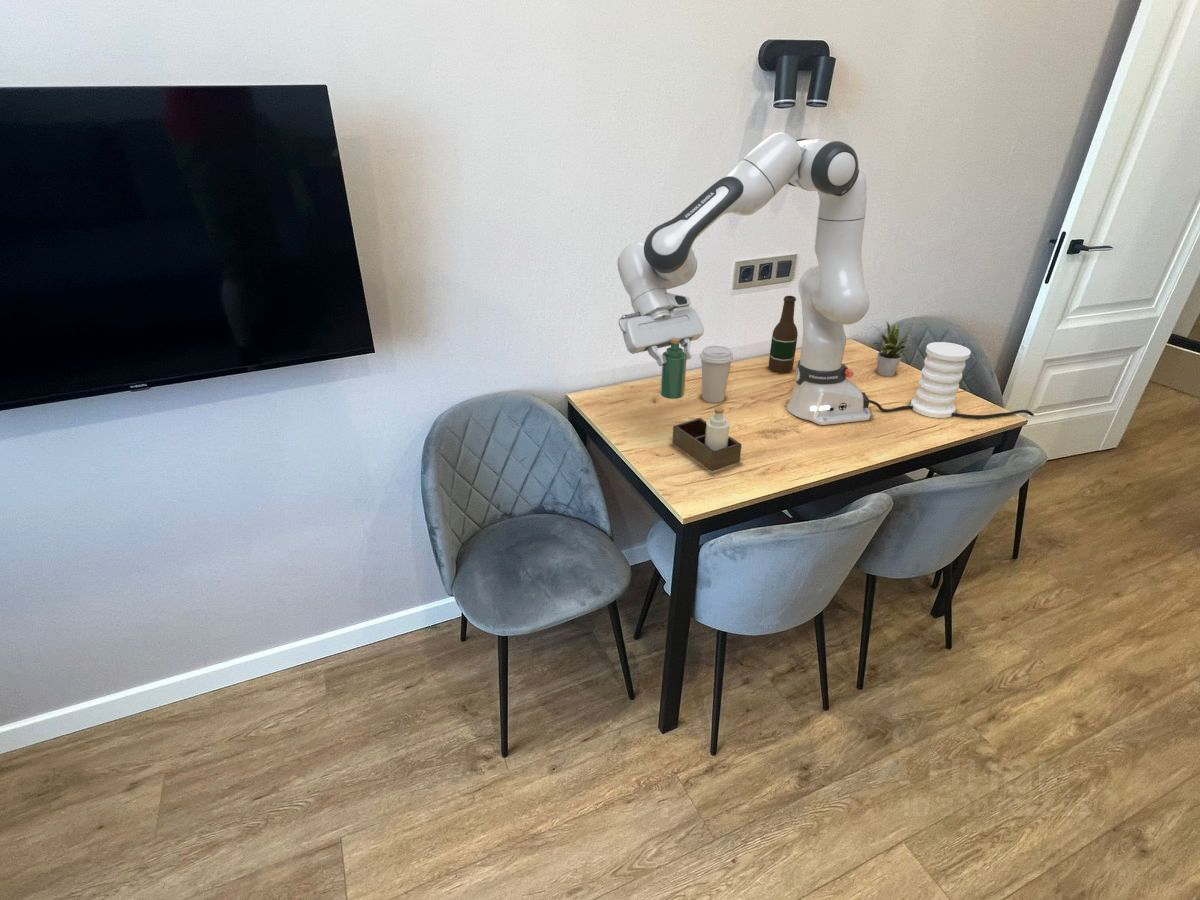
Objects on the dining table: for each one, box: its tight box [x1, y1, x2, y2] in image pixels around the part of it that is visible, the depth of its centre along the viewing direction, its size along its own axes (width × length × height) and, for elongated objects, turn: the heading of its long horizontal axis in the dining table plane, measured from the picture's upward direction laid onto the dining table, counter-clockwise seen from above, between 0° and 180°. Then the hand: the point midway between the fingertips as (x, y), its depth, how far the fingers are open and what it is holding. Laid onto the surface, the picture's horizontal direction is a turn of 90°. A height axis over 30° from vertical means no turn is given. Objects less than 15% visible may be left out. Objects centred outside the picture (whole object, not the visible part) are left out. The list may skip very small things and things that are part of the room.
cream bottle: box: [705, 406, 731, 451], centre depth 155 cm, size 6×6×14 cm
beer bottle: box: [768, 295, 799, 375], centre depth 203 cm, size 8×8×24 cm
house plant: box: [870, 320, 918, 377], centre depth 202 cm, size 14×14×16 cm
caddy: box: [672, 417, 743, 472], centre depth 161 cm, size 16×9×6 cm, turn 30°
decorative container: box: [909, 341, 972, 419], centre depth 178 cm, size 12×12×18 cm
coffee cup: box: [699, 345, 734, 404], centre depth 187 cm, size 10×10×15 cm
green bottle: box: [660, 338, 687, 400], centre depth 150 cm, size 6×6×14 cm
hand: (675, 361), depth 148 cm, fingers closed on green bottle, 5 cm apart
